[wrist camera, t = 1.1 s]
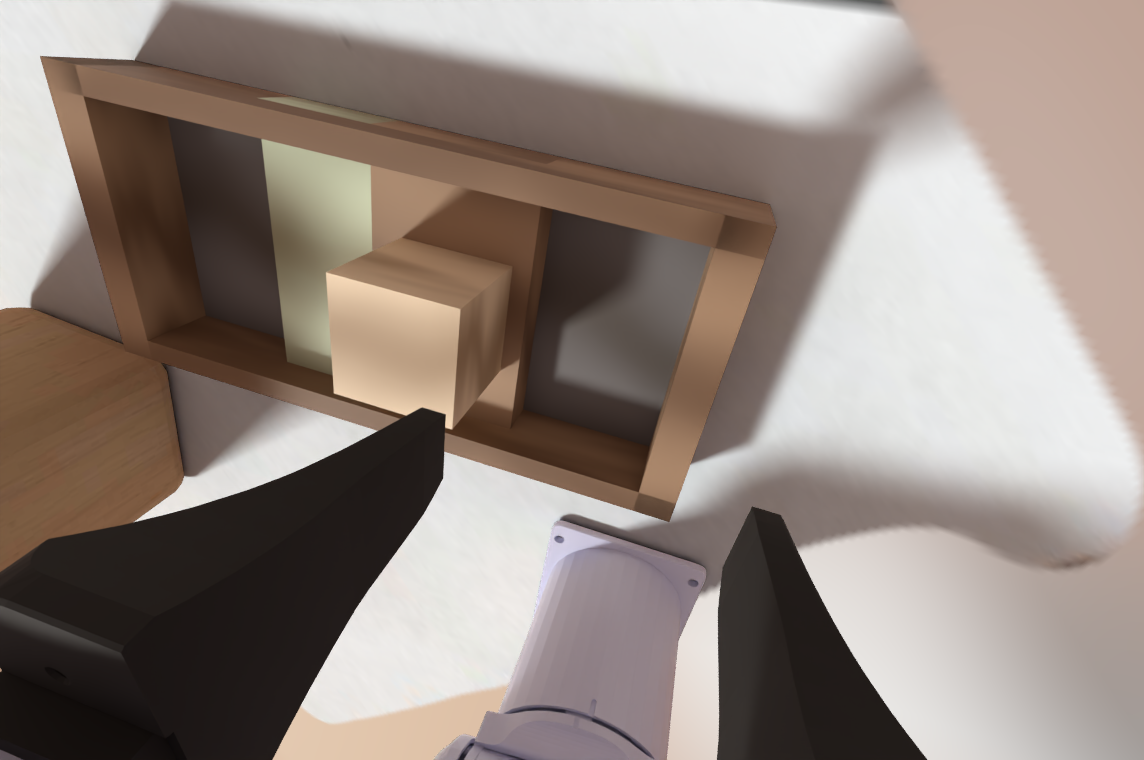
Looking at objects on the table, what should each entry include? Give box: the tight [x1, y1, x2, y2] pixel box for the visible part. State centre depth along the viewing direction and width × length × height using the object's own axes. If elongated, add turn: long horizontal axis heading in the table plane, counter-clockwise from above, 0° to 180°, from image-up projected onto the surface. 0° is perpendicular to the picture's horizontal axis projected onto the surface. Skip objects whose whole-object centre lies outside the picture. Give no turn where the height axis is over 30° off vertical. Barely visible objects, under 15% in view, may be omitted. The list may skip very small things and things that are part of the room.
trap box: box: [40, 56, 777, 522], centre depth 22 cm, size 12×26×4 cm, turn 80°
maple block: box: [326, 238, 513, 429], centre depth 19 cm, size 4×4×4 cm
